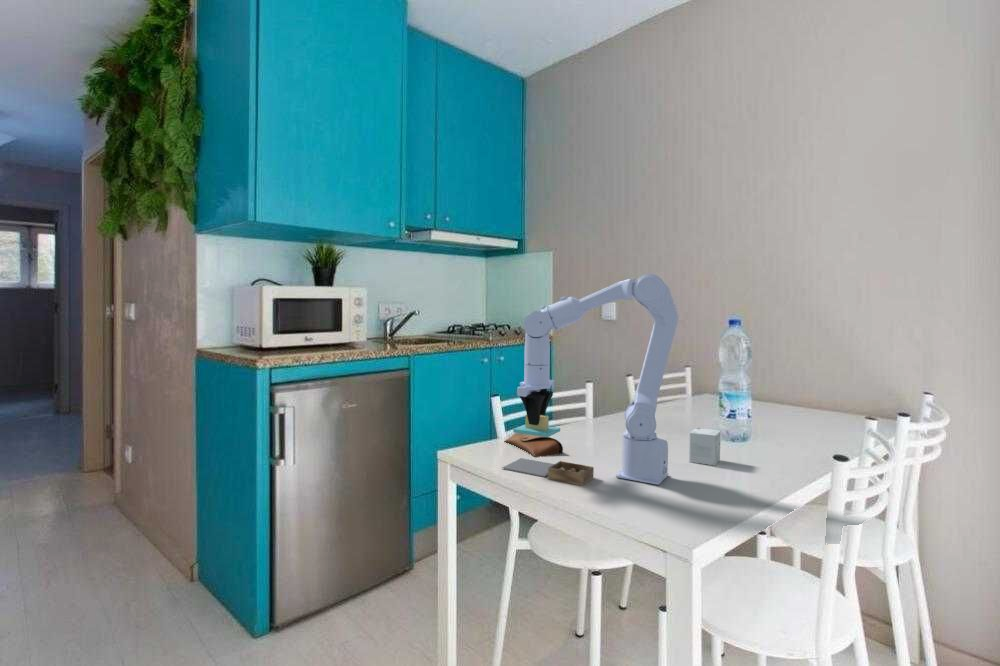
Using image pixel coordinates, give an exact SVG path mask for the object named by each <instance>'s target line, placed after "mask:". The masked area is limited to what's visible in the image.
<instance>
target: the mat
mask: <svg viewBox="0 0 1000 666" xmlns="http://www.w3.org/2000/svg"><path fill="white" fill-rule="evenodd" d="M554 464H555V463H550V462H545V461H538V460H534V459H529V458H523V457H521V458H519V459H517V460H514V461H513V462H510V463H507V465H505V466H503V467H501V469H502V468H504V469H503V470H505V469H508V470H507V471H510V470H512V472H515V471H517V472H516V473H520V472H521V474H525V475H531V476H537V477H540V478H541V477H542V478H546V477H547V478H548V468H549V467H551V466H552V465H554Z"/></svg>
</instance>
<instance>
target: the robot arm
mask: <svg viewBox="0 0 1000 666" xmlns="http://www.w3.org/2000/svg"><path fill="white" fill-rule="evenodd" d="M633 298H634V299H635V301H637V302H638V303H639V304H641V306H643V307H644V308H645V309H646V310H647V312H648V313H649V315H650V317H652V320H653V321H654V322H653V326H652V329H651V334H650V338H649V341H648V345H647V348H646V353H645V357H644V359H643V360H644V361H643V364H642V368H641V370H640V371H641V372H640V374H639V380H638V383H637V386H636V390H635V392H634V394H633V399H632V402H631V403H630V404H629V405H628V407H626V409H625V412H624V420H625V427H626V428H625V430H623V432H622V450H621V451H622V452H621V453H622V457H621V458H622V459H621V460H622V462H621V464H622V467H621V470H620V471H618V473H616V474H615V477H616V478H618V479H619V478H620V479H625V480H630V481H635V482H641V483H646V484H652V485H657V486H658V485H661V484H662V482H663V481H664V480H665V479H666V478H667V477H668V476H669V470H668V469H669V465H668V464H669V444H668V441H667V440H666V439H662V438H659V437H657V436H658V434H657V433H656V432H655V431H656V430H657V420H656V412H657V406H658V397H659V393H660V389H661V385H662V382H663V378H664V376H665V375H664V374H665V371H666V366H667V363H668V360H669V356H670V352H671V349H672V344H673V341H674V337H675V333H676V331H677V330H676V329H677V325H678V324H679V323H678V322H679V313H678V311H677V308H676V305H675V302H674V300H673V296H672V294H671V289H670V287H669V286H668V285H667V283H666V282H665V281H664V280H663V279H662V278H661V277H660V276H659V275H657V274H654V273H646V274H643V275H641V276H640V277H638V279H637V277H632V278H628V279H625V280H621V281H618V282H615V283H613V284H611V285H608V286H607V287H604V288H602V289H600V290H598V291H595V292H593V293H591V294H588V295H587V296H584V297H582V298H580V299H578V298H576V297H573V296H569V297H567V296H562V297H560V298H559V299H560V300H559V301H557V302H554V303H552V304H550V305H547V306H546V305H541V306H540V310H541V311H540V310H532V311H531V312H530V313H528V314H527V315H526V316H524V319H523V322H522V323H523V325H522V326H523V327H522V328H523V329H524V331H525V336H524V337H525V338H524V340H525V341H524V342H525V343H524V354H523V355H524V360H523V361H524V363H523V364H524V365H523V367H524V368H523V369H524V371H523V372H524V373H523V374H524V376H523V379H524V380H523V381H521V382H519V385H520V386H518V387H517V388H516V389H517V391H516V396H517V397H519V398H520V400H521V402H522V404H523V406H524V409H525V413H526V414H527V417H528V422H529V424H531V425H538V424H539V420H540V415H546V412H547V409H548V406H549V403H550V401H551V399H552V398H553V396H554V391H551V390H553V389H554V388H555V379H550V366H551V365H550V362H551V361H550V357H551V356H550V355H551V352H550V351H551V345H550V332H551V331H558V330H560V329H562V328H566V327H568V326H570V325H572V324H574V323H578V322H580V321H581V320H582V319H583V316H584V314H585V312H588V311H592V310H593V309H596V308H599V307H601V306H603V305H606V304H609V303H612V302H615V301H618V300H623V301H632V300H633ZM549 389H551V390H549Z"/></svg>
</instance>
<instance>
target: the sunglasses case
mask: <svg viewBox="0 0 1000 666" xmlns="http://www.w3.org/2000/svg"><path fill="white" fill-rule="evenodd" d="M503 441H504V443H505V442H506V443H505V444H508V443H509V445H510V444H511V445H510V446H512V445H514V446H513V447H515V446H516V447H515V448H517V447H518V448H517V449H519V448H520V449H519V450H521V449H522V450H521V451H523V450H524V451H523V452H525V451H526V452H525V453H527V452H528V453H527V454H528V455H530V454H531V456H532V457H534V458H541V457H547V455H549V456H555V454H556V455H562V453H563V452H564V447H563V445H562V444H561V442H560V441H559V440H557V439H555V438H553V437H551V436H549V437H542V436H535V435H528V434H521V433H515V434H513V435H511V436H509V437H508V438H507V439H505V440H503ZM560 453H561V454H560ZM540 456H541V457H540Z"/></svg>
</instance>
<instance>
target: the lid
mask: <svg viewBox="0 0 1000 666" xmlns="http://www.w3.org/2000/svg"><path fill="white" fill-rule="evenodd" d="M524 417H525V423H524V424H522V425H520V426H517V427H515V428H513V430H512V432H513V433H515V434H516V433H521V434H528V435H535V436H542V437H551V436H554V435H555V434H557V433H559V432H561V427H558V426H557V427H556V426H549V425H550V424H549V415H546V414H545V415H540V420H539V424H538V425H531V424H529V422H528V417H527V413H526V414H525V416H524Z"/></svg>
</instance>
